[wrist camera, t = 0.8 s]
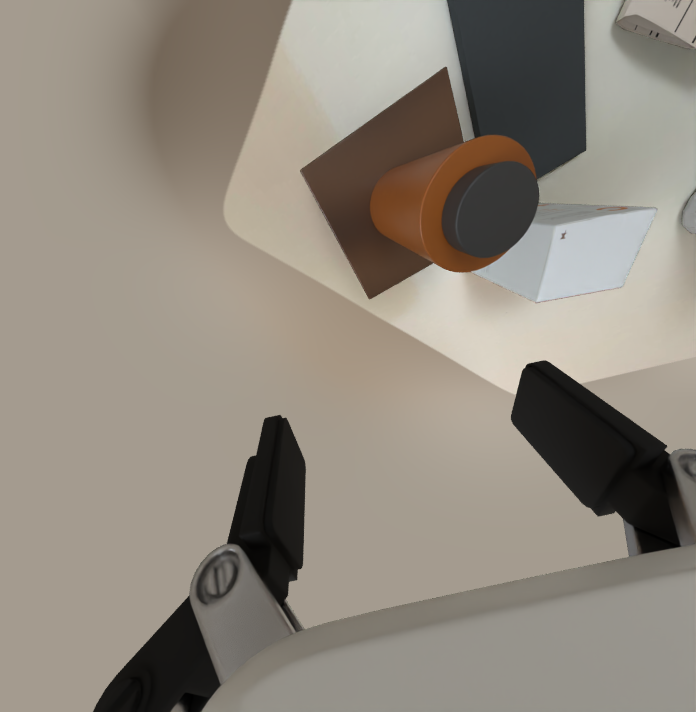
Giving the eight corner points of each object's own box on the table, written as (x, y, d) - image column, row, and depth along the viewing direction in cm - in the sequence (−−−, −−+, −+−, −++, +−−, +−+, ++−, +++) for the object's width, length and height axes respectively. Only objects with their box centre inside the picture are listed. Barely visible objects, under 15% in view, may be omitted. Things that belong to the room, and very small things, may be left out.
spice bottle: (358, 190, 17) (412, 182, 8) (418, 150, 16) (560, 87, 7) (385, 250, 19) (453, 302, 10) (439, 218, 19) (568, 240, 9)
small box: (461, 269, 33) (534, 305, 22) (466, 213, 30) (555, 223, 19) (522, 258, 33) (625, 288, 22) (534, 201, 30) (662, 204, 19)
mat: (424, -107, 18) (430, -122, 18) (567, -228, 17) (580, -251, 16) (488, 204, 29) (494, 204, 29) (578, 151, 28) (586, 150, 27)
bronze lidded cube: (305, 180, 26) (299, 170, 16) (392, 119, 25) (447, 65, 15) (351, 266, 31) (369, 300, 21) (427, 221, 30) (485, 233, 20)
